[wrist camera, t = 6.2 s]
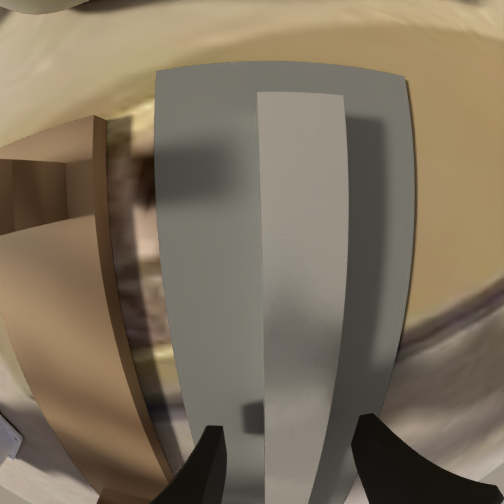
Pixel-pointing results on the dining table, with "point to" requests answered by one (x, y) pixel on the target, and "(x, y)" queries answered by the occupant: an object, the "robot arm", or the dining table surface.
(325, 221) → the steel bar
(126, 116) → the dining table surface
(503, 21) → the dining table surface
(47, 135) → the hook stands
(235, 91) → the mat
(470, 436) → the dining table surface
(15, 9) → the teacup
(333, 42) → the dining table surface
